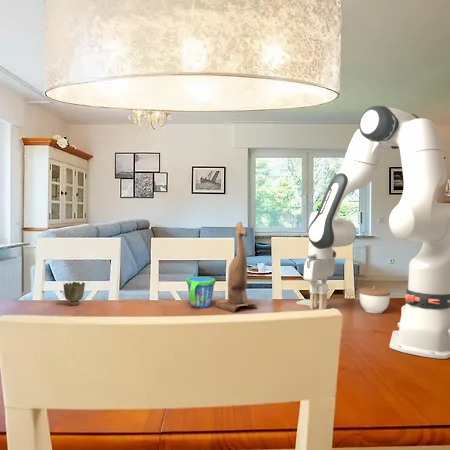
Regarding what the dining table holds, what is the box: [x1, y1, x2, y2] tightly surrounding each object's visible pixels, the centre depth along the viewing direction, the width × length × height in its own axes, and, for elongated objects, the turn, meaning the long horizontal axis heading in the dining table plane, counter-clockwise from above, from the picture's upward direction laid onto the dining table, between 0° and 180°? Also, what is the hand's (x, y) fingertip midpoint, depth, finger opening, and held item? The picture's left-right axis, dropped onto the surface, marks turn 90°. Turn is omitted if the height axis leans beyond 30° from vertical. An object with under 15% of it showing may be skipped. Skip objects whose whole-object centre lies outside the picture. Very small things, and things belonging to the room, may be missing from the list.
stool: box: [309, 282, 329, 310], centre depth 158 cm, size 5×5×9 cm
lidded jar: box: [358, 285, 391, 314], centre depth 155 cm, size 11×11×9 cm
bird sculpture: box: [215, 221, 259, 314], centre depth 155 cm, size 11×12×32 cm
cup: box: [63, 281, 86, 307], centre depth 155 cm, size 8×7×8 cm
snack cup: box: [185, 276, 216, 309], centre depth 158 cm, size 16×10×10 cm
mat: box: [295, 298, 319, 307], centre depth 166 cm, size 7×7×1 cm
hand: (318, 290), depth 157 cm, fingers closed on stool, 5 cm apart
